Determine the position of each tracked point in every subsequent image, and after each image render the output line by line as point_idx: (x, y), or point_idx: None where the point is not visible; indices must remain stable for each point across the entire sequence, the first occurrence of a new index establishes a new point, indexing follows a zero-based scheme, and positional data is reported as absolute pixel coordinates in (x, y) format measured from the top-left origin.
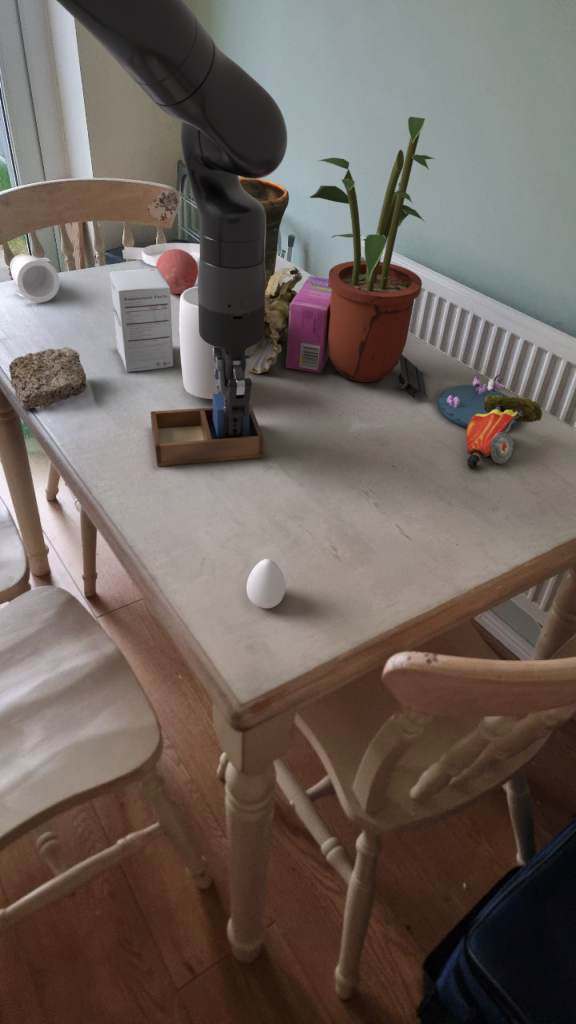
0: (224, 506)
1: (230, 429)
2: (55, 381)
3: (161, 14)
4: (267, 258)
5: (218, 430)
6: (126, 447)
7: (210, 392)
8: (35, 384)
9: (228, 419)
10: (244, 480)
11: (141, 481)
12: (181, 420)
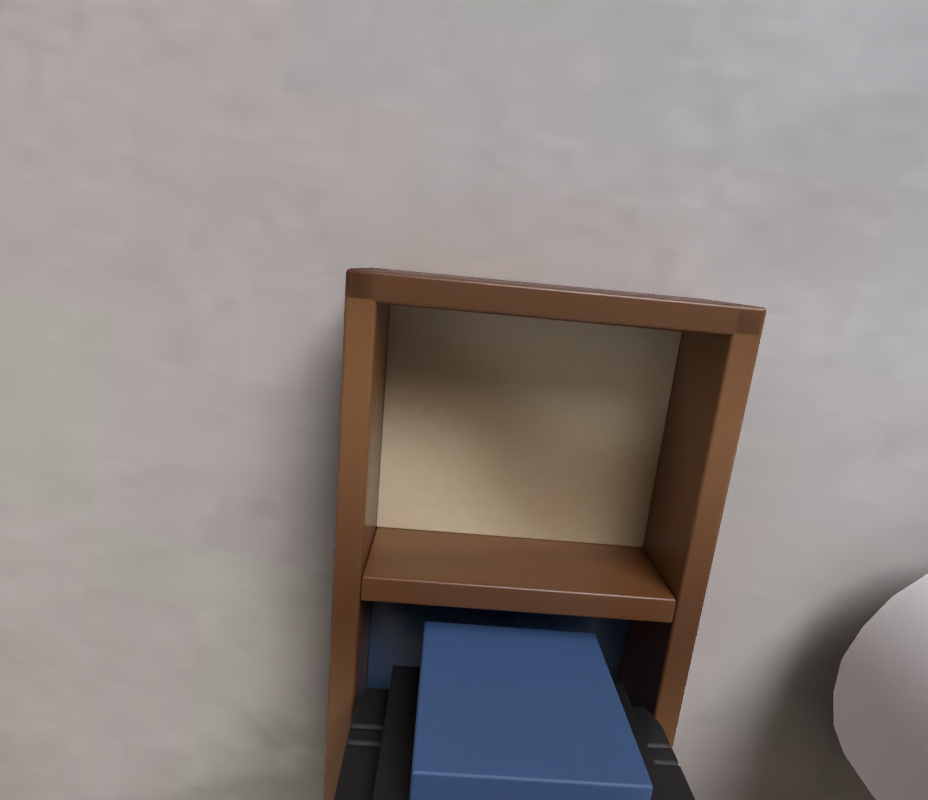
0: (15, 507)
1: (348, 734)
2: None
3: None
4: None
5: (422, 654)
6: (586, 130)
7: (871, 682)
8: None
9: (375, 776)
10: (194, 626)
11: (256, 161)
12: (673, 471)
